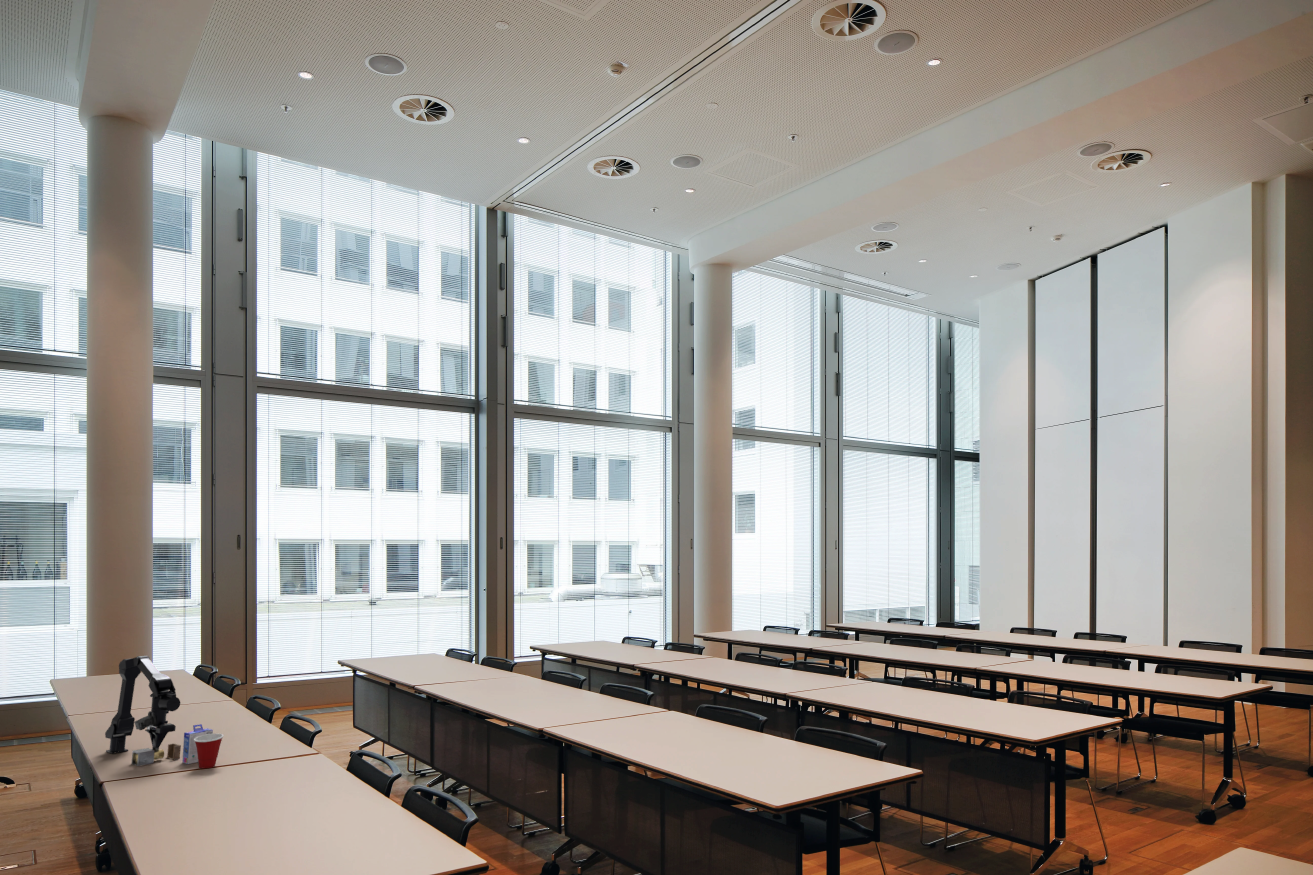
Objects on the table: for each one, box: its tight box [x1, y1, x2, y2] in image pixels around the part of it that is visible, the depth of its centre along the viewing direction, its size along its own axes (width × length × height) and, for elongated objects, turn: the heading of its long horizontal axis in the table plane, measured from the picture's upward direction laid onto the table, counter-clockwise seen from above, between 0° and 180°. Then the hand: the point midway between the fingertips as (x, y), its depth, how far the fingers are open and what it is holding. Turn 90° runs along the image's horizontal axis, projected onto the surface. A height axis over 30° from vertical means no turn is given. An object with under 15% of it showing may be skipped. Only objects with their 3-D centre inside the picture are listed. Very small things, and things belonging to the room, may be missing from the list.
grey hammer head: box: [130, 747, 155, 767], centre depth 345 cm, size 6×6×5 cm
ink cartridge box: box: [182, 723, 214, 765], centre depth 350 cm, size 10×6×14 cm, turn 145°
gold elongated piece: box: [134, 738, 165, 763], centre depth 347 cm, size 10×4×8 cm, turn 145°
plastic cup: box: [194, 732, 224, 769], centre depth 342 cm, size 11×11×12 cm
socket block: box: [166, 742, 182, 760], centre depth 355 cm, size 2×6×5 cm, turn 55°
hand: (155, 747), depth 349 cm, fingers closed on gold elongated piece, 2 cm apart
